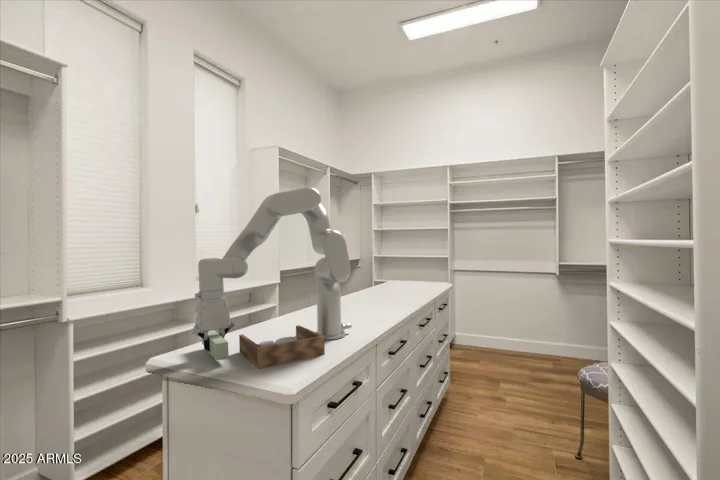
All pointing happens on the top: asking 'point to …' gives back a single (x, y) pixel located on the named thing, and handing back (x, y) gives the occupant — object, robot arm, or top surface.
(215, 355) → the sage green plank
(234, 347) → the top surface
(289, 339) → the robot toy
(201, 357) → the top surface
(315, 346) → the wooden tray
